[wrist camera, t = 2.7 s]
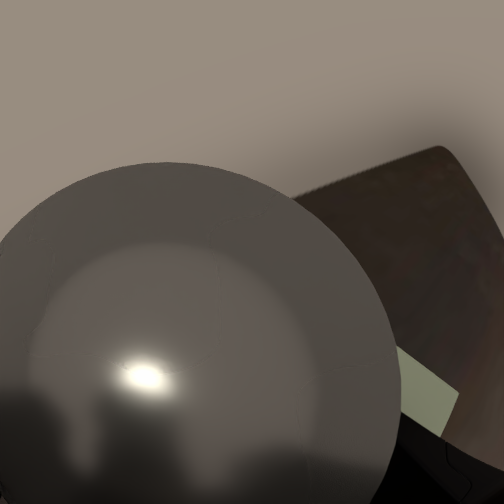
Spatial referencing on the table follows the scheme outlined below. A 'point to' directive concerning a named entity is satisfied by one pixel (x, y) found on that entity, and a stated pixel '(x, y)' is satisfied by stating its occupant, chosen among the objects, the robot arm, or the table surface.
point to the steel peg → (189, 348)
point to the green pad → (424, 394)
